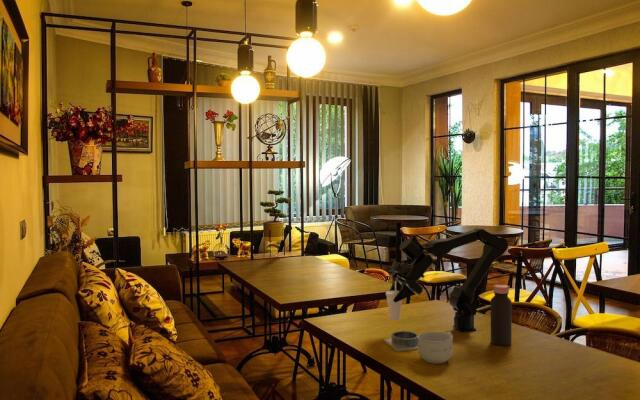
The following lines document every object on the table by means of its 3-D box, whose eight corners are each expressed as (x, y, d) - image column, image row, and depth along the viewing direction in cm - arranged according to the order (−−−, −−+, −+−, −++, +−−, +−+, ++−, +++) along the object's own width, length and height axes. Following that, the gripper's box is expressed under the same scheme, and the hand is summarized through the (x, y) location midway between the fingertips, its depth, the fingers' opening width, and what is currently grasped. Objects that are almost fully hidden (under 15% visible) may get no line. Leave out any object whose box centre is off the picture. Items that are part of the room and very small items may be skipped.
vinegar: (514, 342, 173) (514, 285, 172) (506, 347, 168) (506, 288, 167) (495, 338, 177) (495, 282, 176) (487, 343, 172) (487, 286, 171)
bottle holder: (412, 338, 179) (412, 329, 179) (427, 347, 169) (427, 338, 168) (384, 341, 176) (384, 332, 176) (397, 351, 165) (397, 341, 165)
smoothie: (398, 321, 178) (397, 283, 178) (382, 319, 182) (382, 281, 182) (406, 317, 183) (406, 280, 183) (391, 315, 187) (390, 278, 187)
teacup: (432, 369, 150) (432, 343, 150) (410, 358, 159) (410, 333, 159) (467, 361, 156) (467, 335, 156) (443, 350, 166) (443, 326, 166)
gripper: (394, 249, 192) (367, 280, 190) (414, 257, 173) (384, 290, 172) (414, 268, 194) (387, 298, 192) (435, 278, 175) (406, 311, 174)
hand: (390, 299), depth 182 cm, fingers closed on smoothie, 6 cm apart
